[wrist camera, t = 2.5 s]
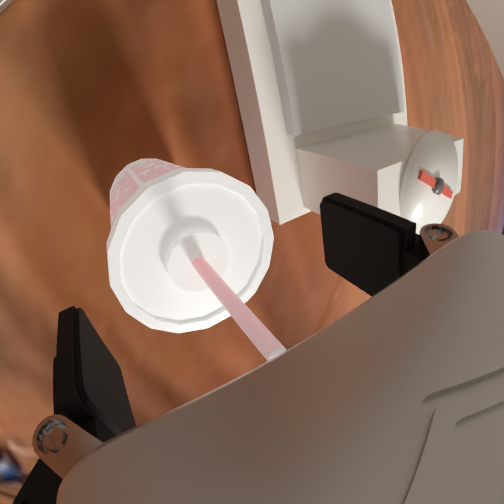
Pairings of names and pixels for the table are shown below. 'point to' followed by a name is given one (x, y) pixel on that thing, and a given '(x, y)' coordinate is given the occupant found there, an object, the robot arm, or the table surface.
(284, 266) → the table surface
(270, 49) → the scale
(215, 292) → the beverage cup
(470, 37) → the table surface
